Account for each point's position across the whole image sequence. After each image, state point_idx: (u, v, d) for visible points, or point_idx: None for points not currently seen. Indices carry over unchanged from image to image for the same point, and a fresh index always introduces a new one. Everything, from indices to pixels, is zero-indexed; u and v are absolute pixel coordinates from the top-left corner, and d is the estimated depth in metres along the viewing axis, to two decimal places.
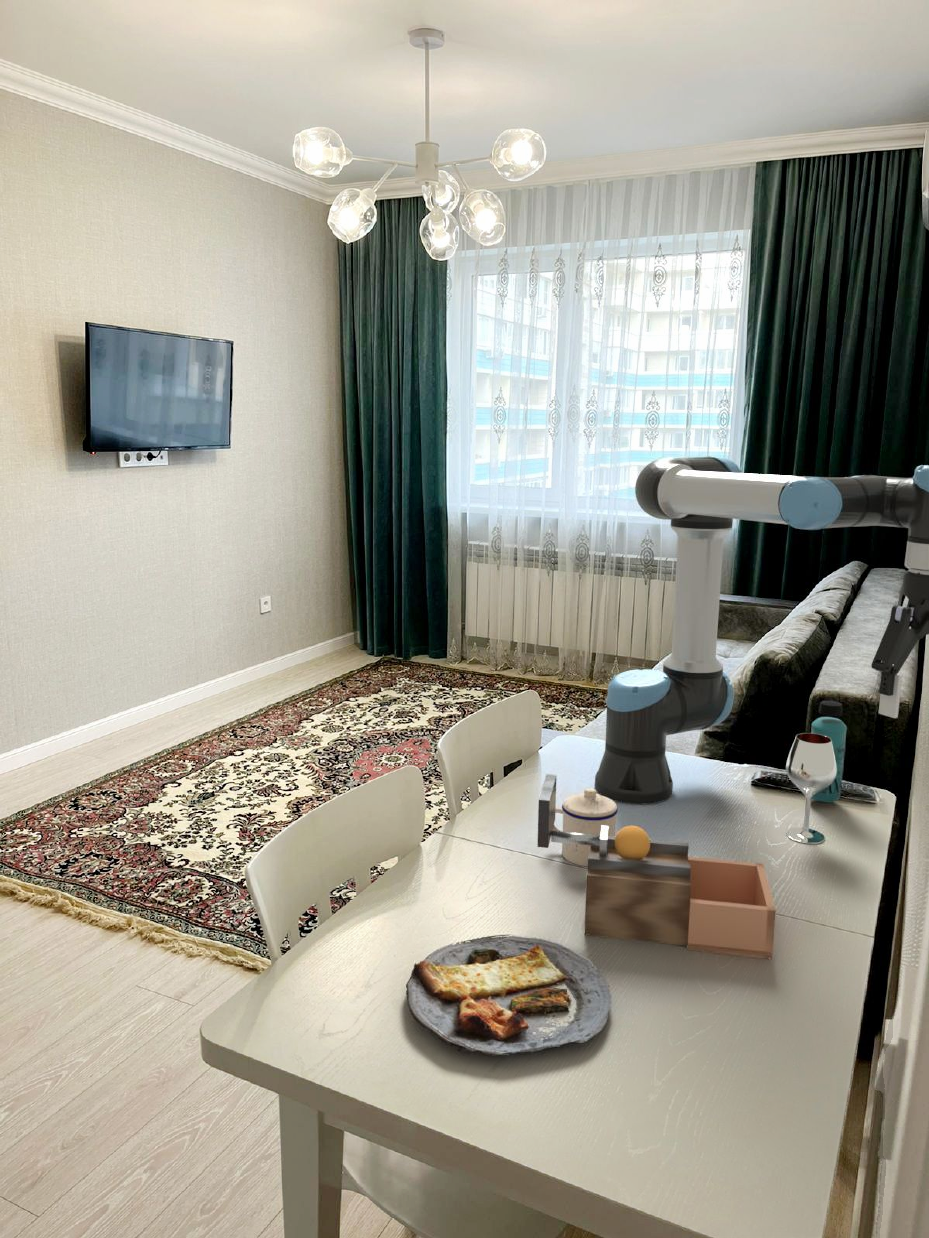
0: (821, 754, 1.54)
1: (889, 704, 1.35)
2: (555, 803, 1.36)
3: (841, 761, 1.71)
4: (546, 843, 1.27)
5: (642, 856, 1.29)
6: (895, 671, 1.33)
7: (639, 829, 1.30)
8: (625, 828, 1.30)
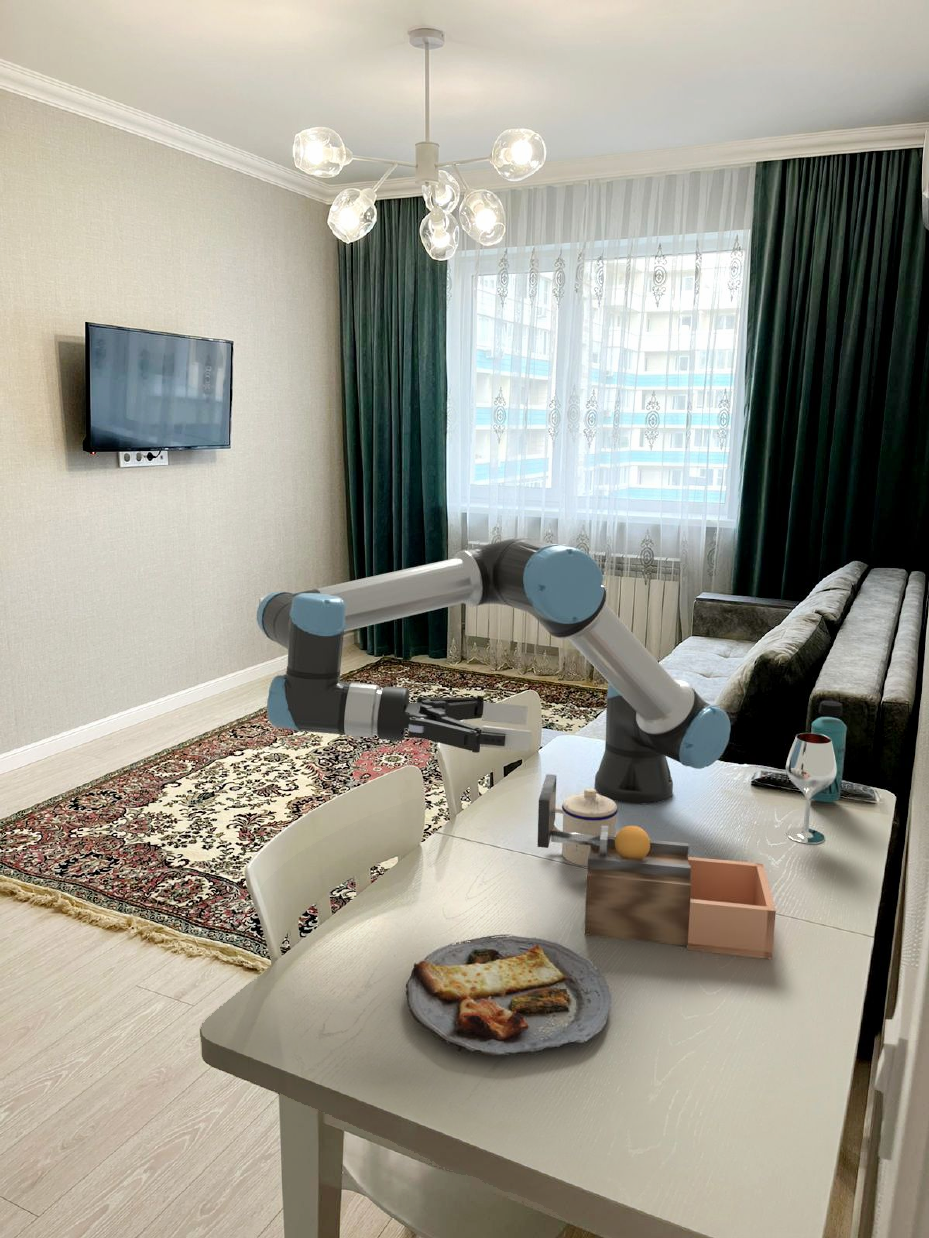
0: (821, 754, 1.54)
1: None
2: (555, 803, 1.36)
3: (841, 761, 1.71)
4: (546, 843, 1.27)
5: (642, 856, 1.29)
6: None
7: (639, 829, 1.30)
8: (625, 828, 1.30)
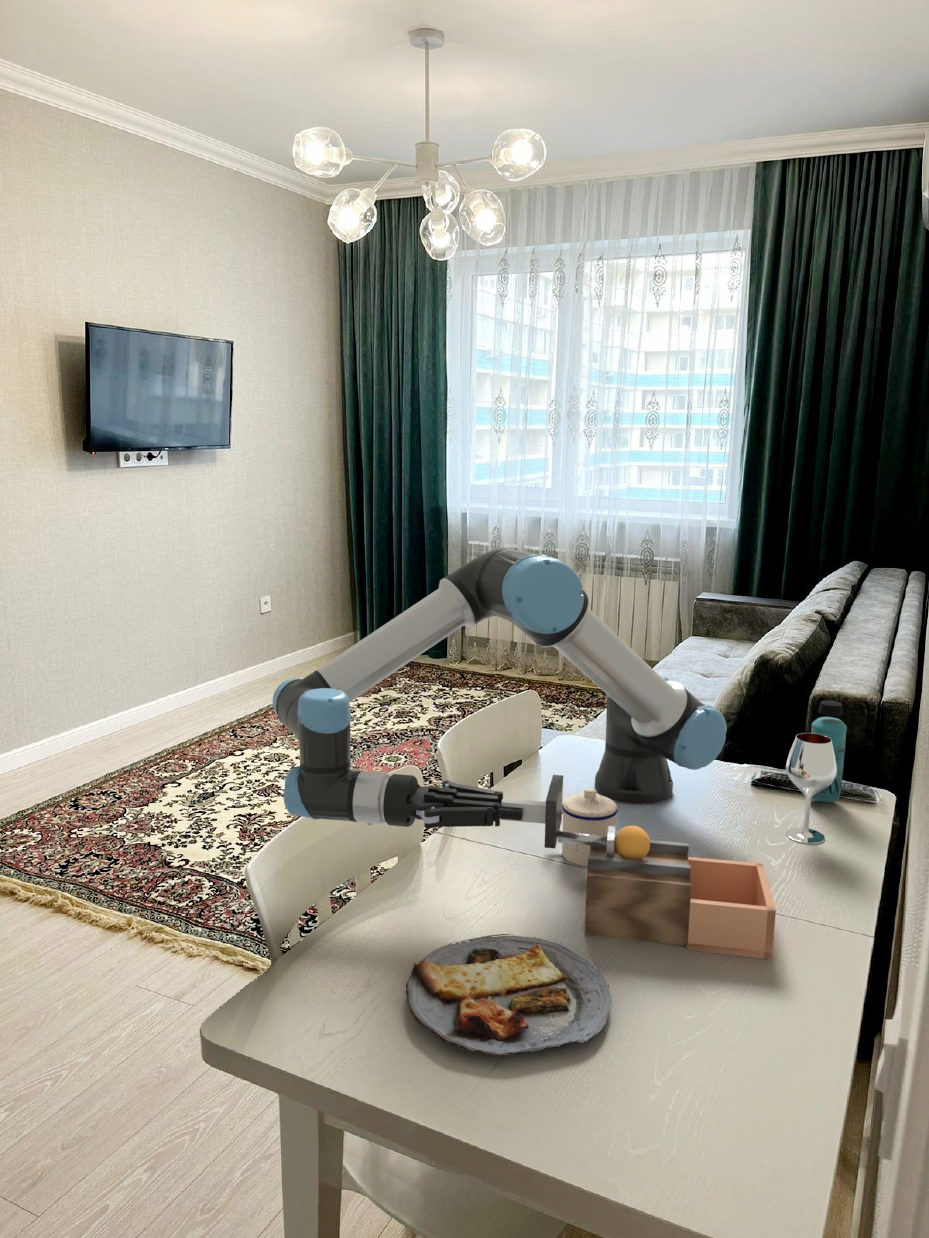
0: (821, 754, 1.54)
1: None
2: None
3: (841, 761, 1.71)
4: (553, 844, 1.27)
5: (642, 856, 1.29)
6: None
7: (639, 829, 1.30)
8: (625, 828, 1.30)
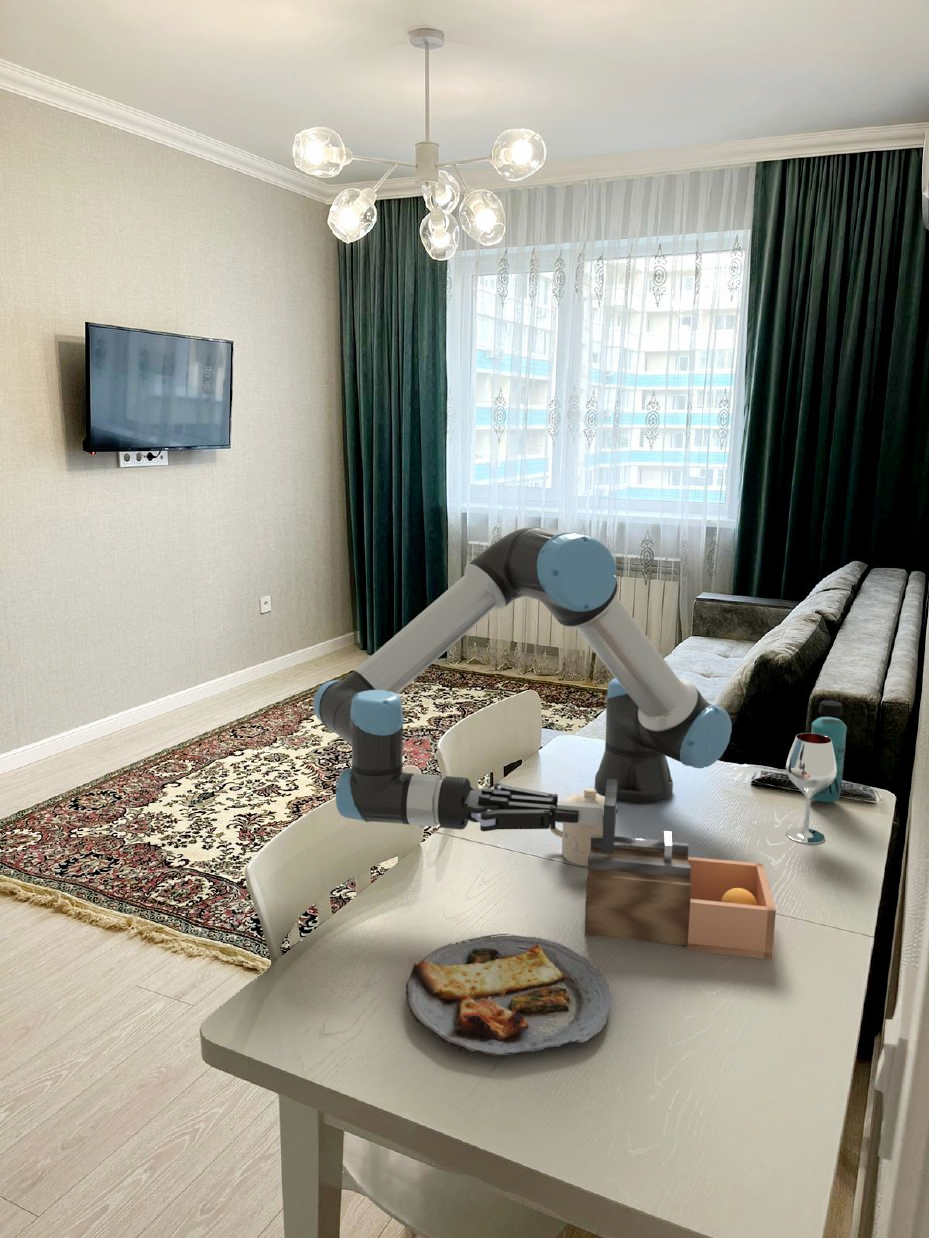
0: (821, 754, 1.54)
1: None
2: None
3: (841, 761, 1.71)
4: (611, 849, 1.26)
5: None
6: None
7: (752, 895, 1.28)
8: (738, 890, 1.28)
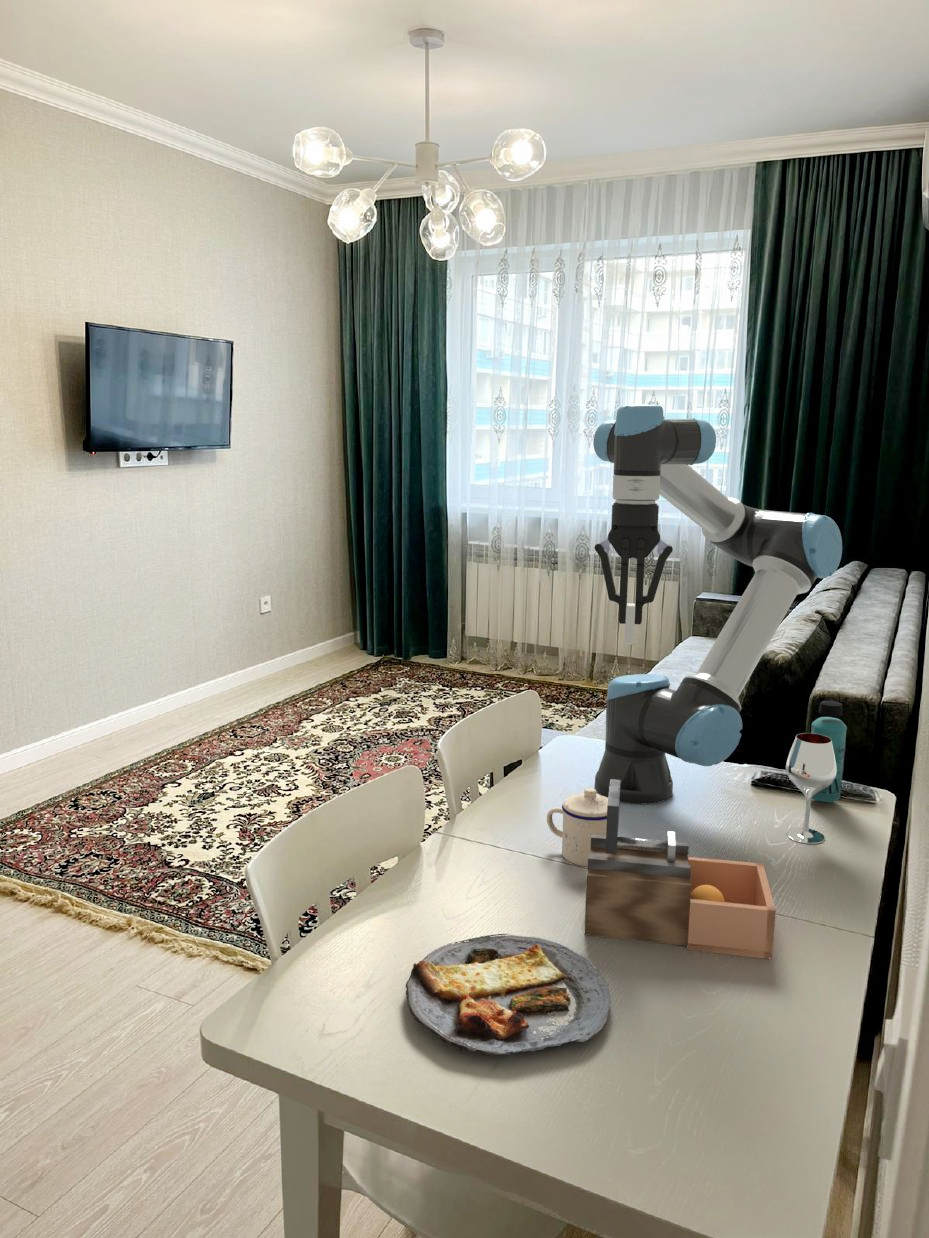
0: (821, 754, 1.54)
1: None
2: None
3: (841, 761, 1.71)
4: (614, 849, 1.26)
5: (717, 901, 1.28)
6: (621, 602, 1.52)
7: (692, 893, 1.30)
8: None
